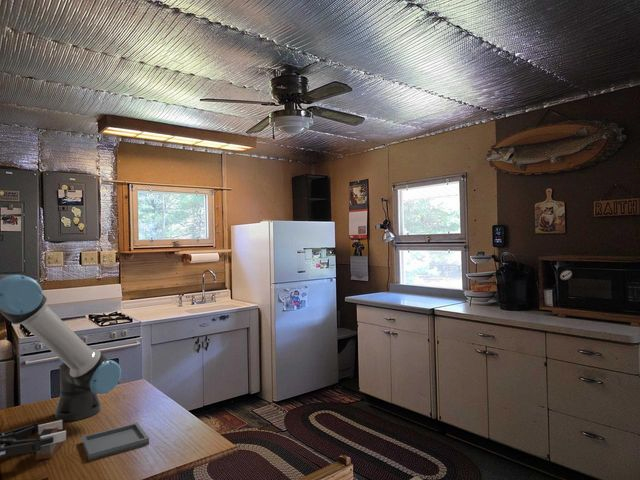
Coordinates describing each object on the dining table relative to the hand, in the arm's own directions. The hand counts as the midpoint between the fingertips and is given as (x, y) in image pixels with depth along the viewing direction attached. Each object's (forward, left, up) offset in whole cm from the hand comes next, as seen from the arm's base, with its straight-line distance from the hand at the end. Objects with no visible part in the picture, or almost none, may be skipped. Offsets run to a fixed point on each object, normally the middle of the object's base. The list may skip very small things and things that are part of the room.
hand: (64, 429), depth 135 cm
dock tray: (+6, +14, -6) cm, 16 cm away
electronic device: (0, -4, -6) cm, 7 cm away
